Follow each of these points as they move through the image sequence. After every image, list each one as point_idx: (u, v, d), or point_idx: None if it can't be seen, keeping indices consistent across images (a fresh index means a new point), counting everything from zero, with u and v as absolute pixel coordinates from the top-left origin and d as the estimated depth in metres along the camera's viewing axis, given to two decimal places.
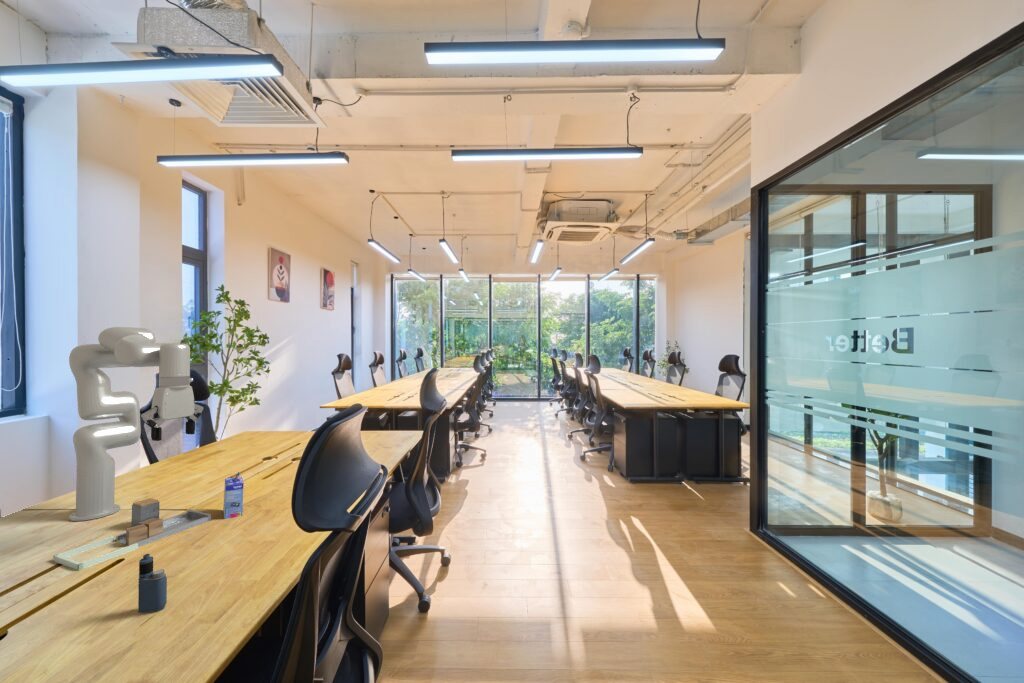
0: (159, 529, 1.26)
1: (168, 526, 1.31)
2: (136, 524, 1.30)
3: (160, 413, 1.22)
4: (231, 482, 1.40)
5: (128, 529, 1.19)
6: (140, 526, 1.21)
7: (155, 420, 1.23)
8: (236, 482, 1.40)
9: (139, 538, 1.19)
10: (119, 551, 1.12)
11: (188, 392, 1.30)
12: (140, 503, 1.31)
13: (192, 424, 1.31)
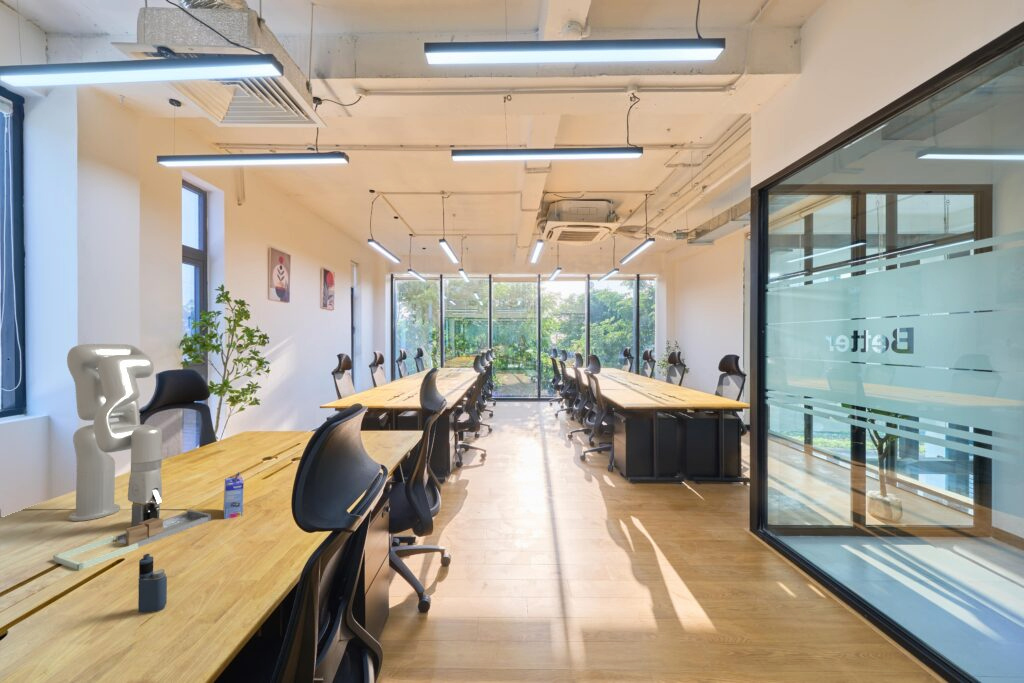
0: (159, 529, 1.26)
1: (168, 526, 1.31)
2: (136, 524, 1.30)
3: (160, 493, 1.32)
4: (231, 482, 1.40)
5: (128, 529, 1.19)
6: (140, 526, 1.21)
7: None
8: (236, 482, 1.40)
9: (139, 538, 1.19)
10: (119, 551, 1.12)
11: None
12: None
13: None
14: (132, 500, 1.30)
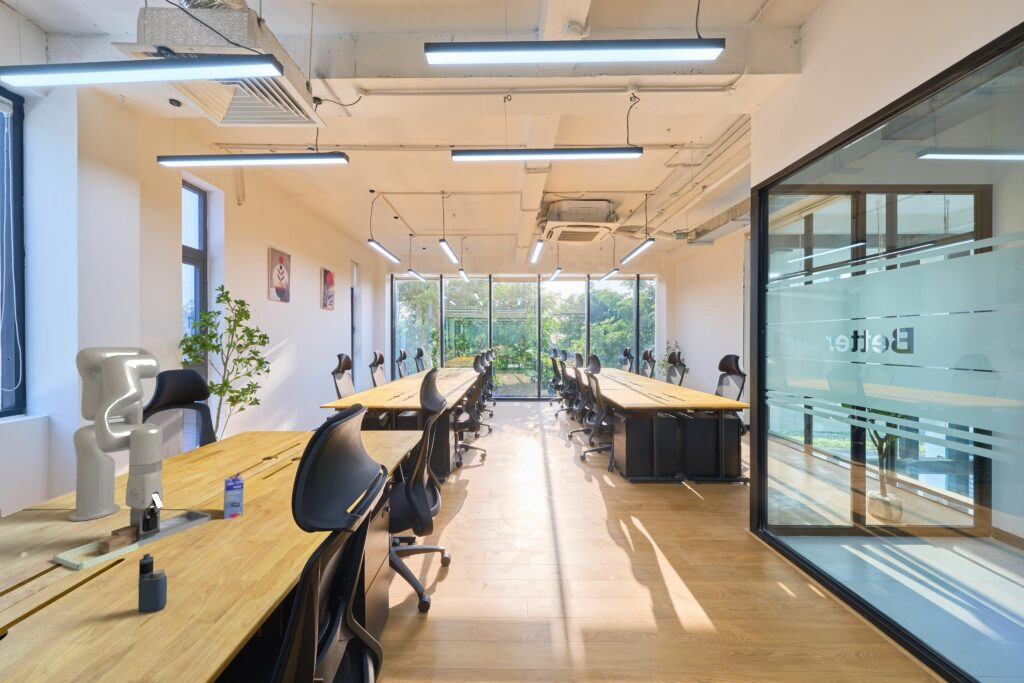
0: (131, 538, 1.20)
1: (168, 526, 1.31)
2: None
3: (161, 498, 1.23)
4: (231, 482, 1.40)
5: (103, 541, 1.13)
6: (114, 537, 1.16)
7: None
8: (236, 482, 1.40)
9: (118, 548, 1.14)
10: (119, 551, 1.12)
11: None
12: None
13: None
14: (130, 505, 1.21)
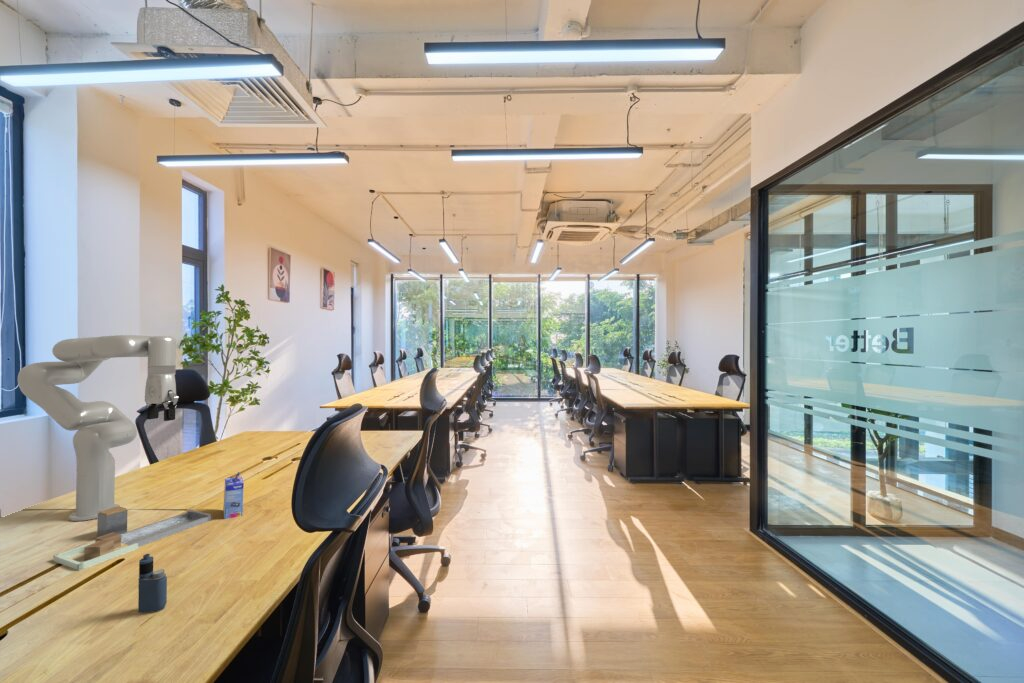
0: (116, 545, 1.16)
1: (168, 526, 1.31)
2: (102, 534, 1.23)
3: None
4: (231, 482, 1.40)
5: (90, 546, 1.10)
6: (100, 542, 1.13)
7: None
8: (236, 482, 1.40)
9: (107, 552, 1.12)
10: (119, 551, 1.12)
11: None
12: (106, 512, 1.24)
13: (158, 409, 1.46)
14: (149, 401, 1.41)
